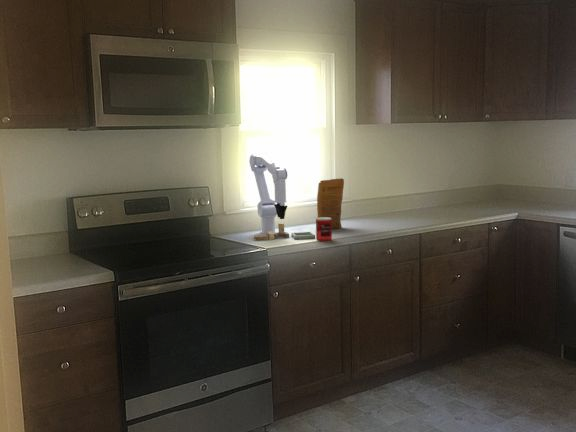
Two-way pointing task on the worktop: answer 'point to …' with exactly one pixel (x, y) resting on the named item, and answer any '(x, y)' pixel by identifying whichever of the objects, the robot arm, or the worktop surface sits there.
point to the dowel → (281, 228)
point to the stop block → (271, 235)
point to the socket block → (281, 235)
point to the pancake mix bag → (330, 200)
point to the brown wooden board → (260, 237)
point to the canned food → (324, 229)
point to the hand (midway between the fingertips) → (281, 218)
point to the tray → (303, 235)
